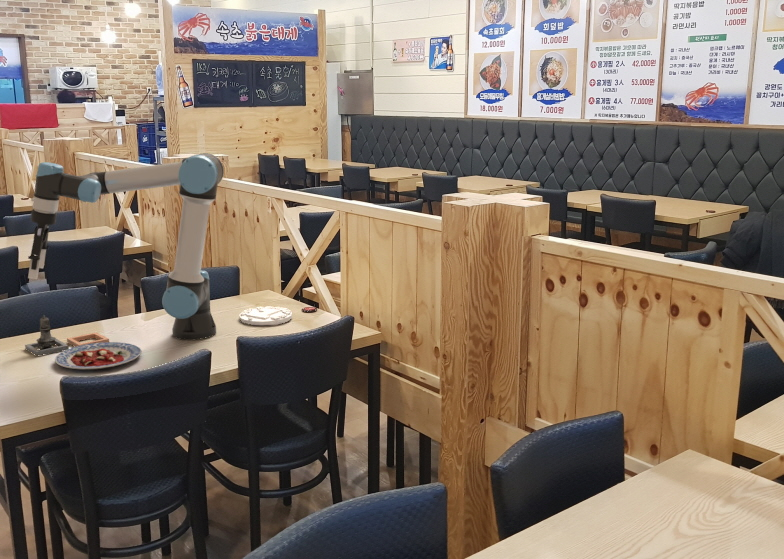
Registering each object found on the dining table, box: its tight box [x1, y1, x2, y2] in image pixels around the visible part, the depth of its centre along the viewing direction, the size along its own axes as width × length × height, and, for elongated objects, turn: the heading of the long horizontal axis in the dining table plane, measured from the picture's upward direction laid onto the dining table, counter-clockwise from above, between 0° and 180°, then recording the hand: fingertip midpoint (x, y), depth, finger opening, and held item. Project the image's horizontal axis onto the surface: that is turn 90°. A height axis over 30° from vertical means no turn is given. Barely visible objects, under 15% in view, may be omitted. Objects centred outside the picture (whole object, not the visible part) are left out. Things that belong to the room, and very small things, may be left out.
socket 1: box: [24, 338, 70, 357], centre depth 253 cm, size 10×10×2 cm
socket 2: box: [66, 332, 110, 347], centre depth 260 cm, size 10×10×2 cm
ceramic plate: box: [54, 341, 142, 370], centre depth 243 cm, size 26×26×3 cm
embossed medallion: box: [238, 305, 293, 326], centre depth 291 cm, size 20×20×3 cm
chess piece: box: [36, 314, 57, 350], centre depth 251 cm, size 6×6×12 cm
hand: (35, 273), depth 251 cm, fingers open, 13 cm apart
